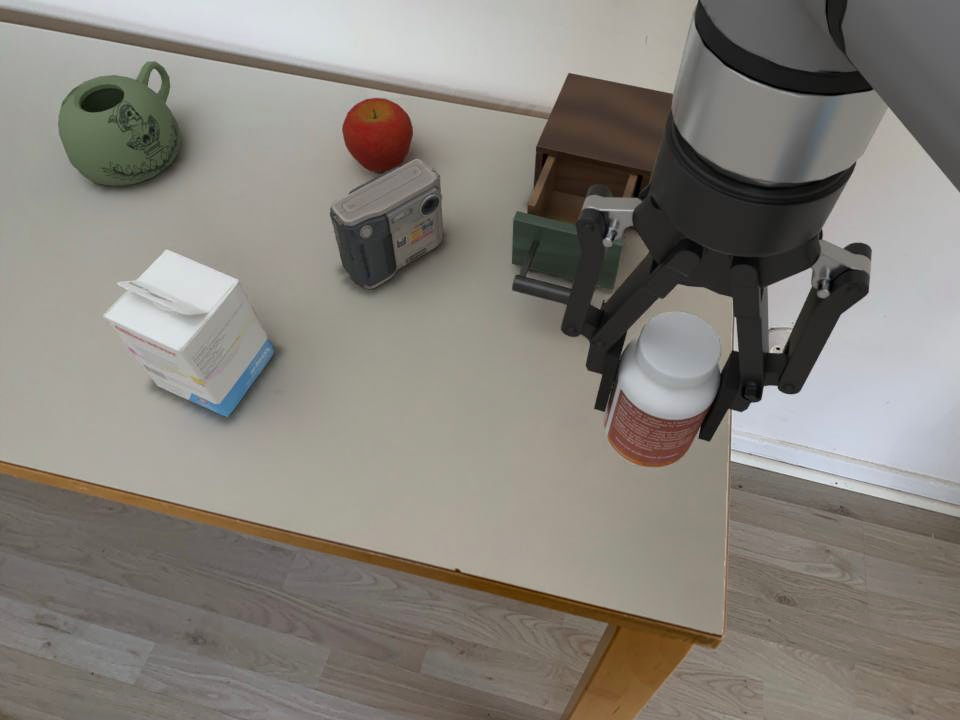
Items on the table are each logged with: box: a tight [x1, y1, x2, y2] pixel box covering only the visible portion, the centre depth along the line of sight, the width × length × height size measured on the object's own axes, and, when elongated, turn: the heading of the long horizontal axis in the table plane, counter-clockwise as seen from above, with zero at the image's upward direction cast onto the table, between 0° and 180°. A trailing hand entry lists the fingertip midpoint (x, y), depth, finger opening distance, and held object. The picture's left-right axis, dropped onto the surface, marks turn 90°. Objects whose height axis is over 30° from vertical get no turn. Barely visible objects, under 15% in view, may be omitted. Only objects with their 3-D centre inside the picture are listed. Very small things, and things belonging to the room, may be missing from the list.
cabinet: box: [533, 72, 673, 230], centre depth 81 cm, size 13×12×9 cm
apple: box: [341, 97, 414, 173], centre depth 84 cm, size 8×8×8 cm
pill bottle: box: [603, 311, 722, 470], centre depth 47 cm, size 6×6×11 cm
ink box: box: [102, 249, 276, 418], centre depth 66 cm, size 9×8×13 cm
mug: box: [57, 60, 182, 187], centre depth 85 cm, size 16×13×9 cm
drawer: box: [511, 155, 639, 306], centre depth 74 cm, size 18×11×7 cm, turn 161°
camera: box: [329, 158, 444, 290], centre depth 75 cm, size 11×6×10 cm, turn 126°
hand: (655, 407), depth 48 cm, fingers closed on pill bottle, 6 cm apart
